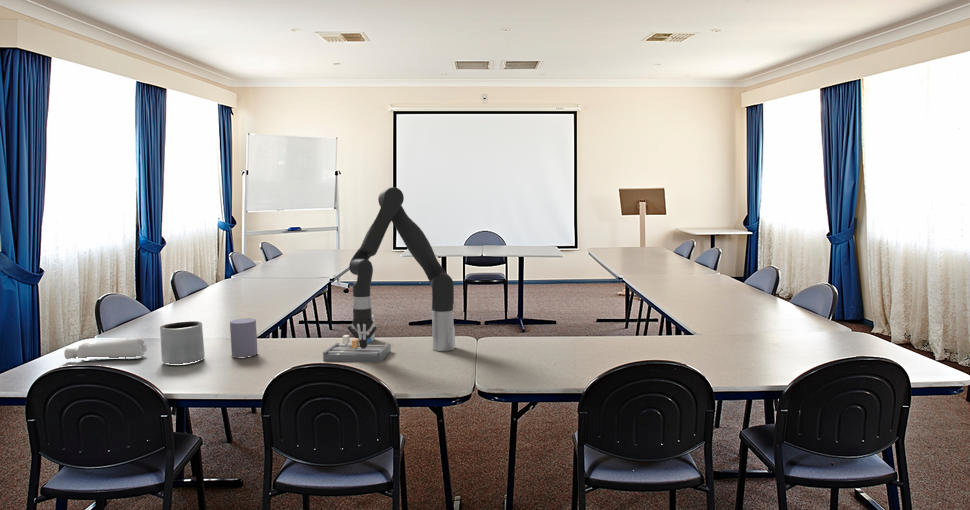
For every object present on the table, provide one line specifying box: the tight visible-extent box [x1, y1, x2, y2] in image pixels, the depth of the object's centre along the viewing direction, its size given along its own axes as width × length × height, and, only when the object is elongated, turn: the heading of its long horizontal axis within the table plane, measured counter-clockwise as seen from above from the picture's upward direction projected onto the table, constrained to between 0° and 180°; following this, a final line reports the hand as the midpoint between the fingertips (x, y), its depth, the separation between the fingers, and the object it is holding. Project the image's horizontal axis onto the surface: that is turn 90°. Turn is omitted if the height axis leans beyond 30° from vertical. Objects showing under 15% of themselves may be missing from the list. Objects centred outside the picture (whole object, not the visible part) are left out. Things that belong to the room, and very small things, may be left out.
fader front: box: [351, 338, 360, 352], centre depth 266 cm, size 2×3×5 cm, turn 173°
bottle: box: [63, 337, 148, 360], centre depth 269 cm, size 9×9×30 cm
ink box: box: [359, 314, 376, 344], centre depth 295 cm, size 9×5×12 cm, turn 168°
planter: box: [159, 320, 205, 364], centre depth 265 cm, size 16×16×16 cm
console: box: [322, 342, 392, 363], centre depth 270 cm, size 24×16×4 cm, turn 83°
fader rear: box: [342, 334, 351, 347], centre depth 274 cm, size 2×3×5 cm, turn 173°
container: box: [229, 318, 259, 357], centre depth 273 cm, size 10×10×15 cm
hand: (363, 348), depth 265 cm, fingers closed
